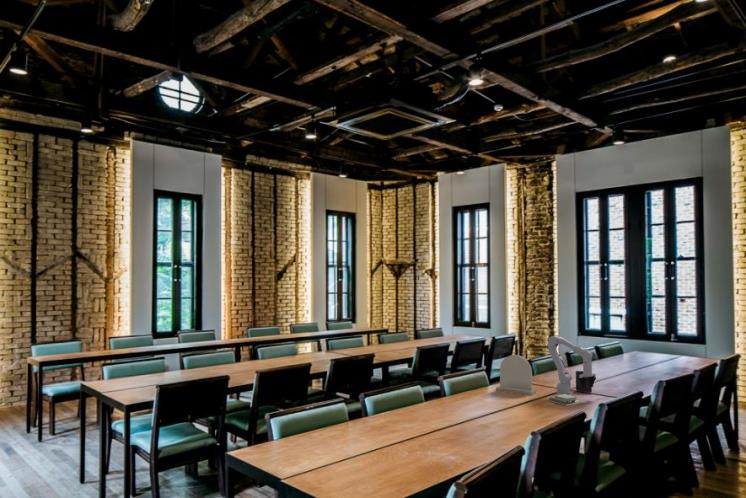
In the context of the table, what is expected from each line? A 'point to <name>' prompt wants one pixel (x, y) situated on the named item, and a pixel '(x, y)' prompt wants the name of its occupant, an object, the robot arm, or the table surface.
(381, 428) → the table surface
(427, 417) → the table surface
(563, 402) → the dock
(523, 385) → the award
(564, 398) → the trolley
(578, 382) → the calculator
